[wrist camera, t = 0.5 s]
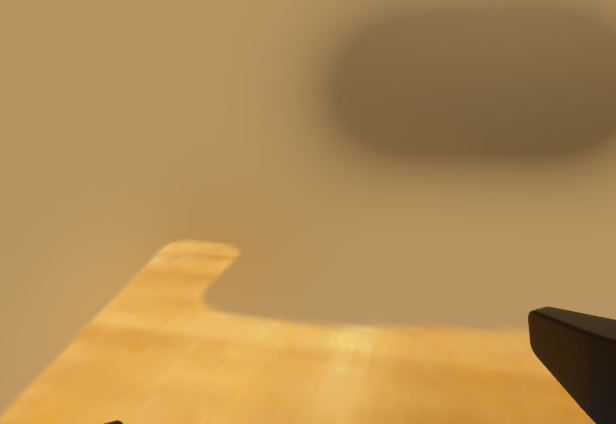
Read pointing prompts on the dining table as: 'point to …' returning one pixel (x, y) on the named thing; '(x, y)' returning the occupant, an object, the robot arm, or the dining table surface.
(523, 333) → the dining table surface
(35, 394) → the dining table surface
